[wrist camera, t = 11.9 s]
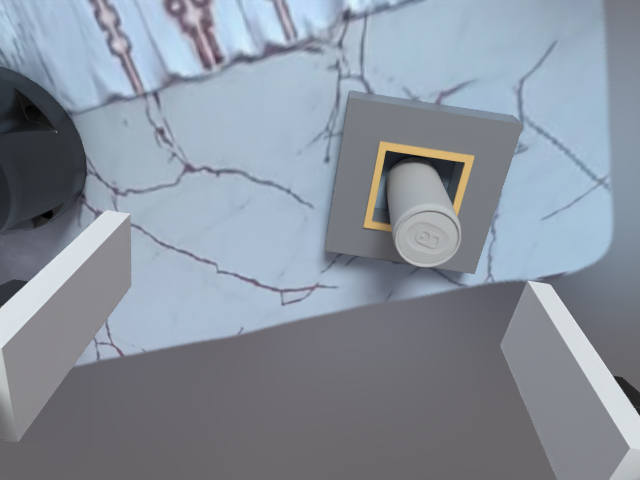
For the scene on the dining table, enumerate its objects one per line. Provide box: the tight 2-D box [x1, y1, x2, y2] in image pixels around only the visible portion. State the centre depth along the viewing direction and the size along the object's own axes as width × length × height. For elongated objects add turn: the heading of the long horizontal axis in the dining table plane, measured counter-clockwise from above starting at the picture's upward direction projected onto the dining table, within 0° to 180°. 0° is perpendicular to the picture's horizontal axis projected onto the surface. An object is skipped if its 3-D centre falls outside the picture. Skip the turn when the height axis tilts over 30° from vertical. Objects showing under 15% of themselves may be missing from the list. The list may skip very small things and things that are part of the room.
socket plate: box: [324, 91, 523, 274], centre depth 44 cm, size 14×14×3 cm
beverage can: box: [386, 157, 461, 267], centre depth 40 cm, size 5×5×12 cm
